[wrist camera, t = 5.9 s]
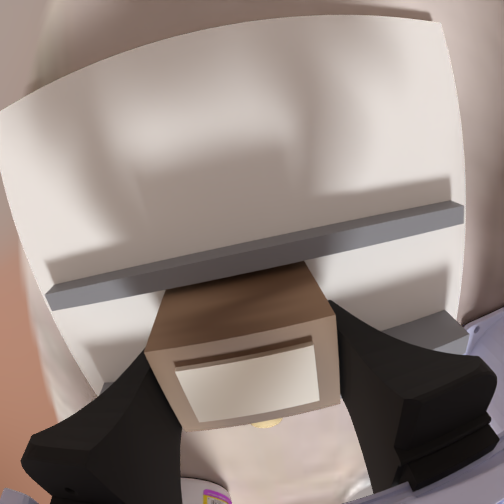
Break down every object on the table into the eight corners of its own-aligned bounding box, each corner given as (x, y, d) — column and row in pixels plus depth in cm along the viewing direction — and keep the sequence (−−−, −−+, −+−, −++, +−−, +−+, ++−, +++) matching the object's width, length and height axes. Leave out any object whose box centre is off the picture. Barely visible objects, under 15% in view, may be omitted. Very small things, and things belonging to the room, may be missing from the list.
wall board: (433, 25, 10) (483, 8, 6) (446, 341, 16) (477, 378, 13) (-2, 116, 10) (-54, 120, 6) (115, 412, 16) (101, 459, 13)
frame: (303, 259, 12) (337, 318, 8) (313, 336, 14) (342, 407, 10) (166, 288, 12) (142, 356, 8) (193, 360, 14) (185, 436, 10)
